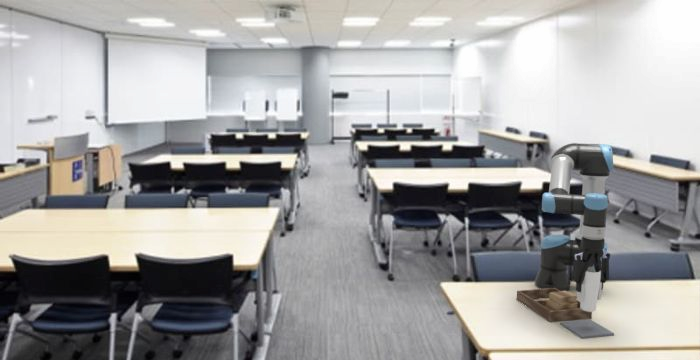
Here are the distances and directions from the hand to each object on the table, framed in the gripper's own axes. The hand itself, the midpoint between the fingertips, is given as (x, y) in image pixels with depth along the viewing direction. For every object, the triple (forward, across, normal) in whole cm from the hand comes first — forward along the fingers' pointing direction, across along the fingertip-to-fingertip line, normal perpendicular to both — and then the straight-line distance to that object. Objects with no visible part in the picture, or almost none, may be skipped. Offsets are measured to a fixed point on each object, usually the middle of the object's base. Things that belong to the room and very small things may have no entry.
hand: (588, 299), depth 199 cm
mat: (+12, 0, 0) cm, 12 cm away
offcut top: (+6, 0, +15) cm, 16 cm away
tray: (+11, 0, +21) cm, 24 cm away
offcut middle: (+9, 0, +15) cm, 18 cm away
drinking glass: (+4, 0, 0) cm, 4 cm away
